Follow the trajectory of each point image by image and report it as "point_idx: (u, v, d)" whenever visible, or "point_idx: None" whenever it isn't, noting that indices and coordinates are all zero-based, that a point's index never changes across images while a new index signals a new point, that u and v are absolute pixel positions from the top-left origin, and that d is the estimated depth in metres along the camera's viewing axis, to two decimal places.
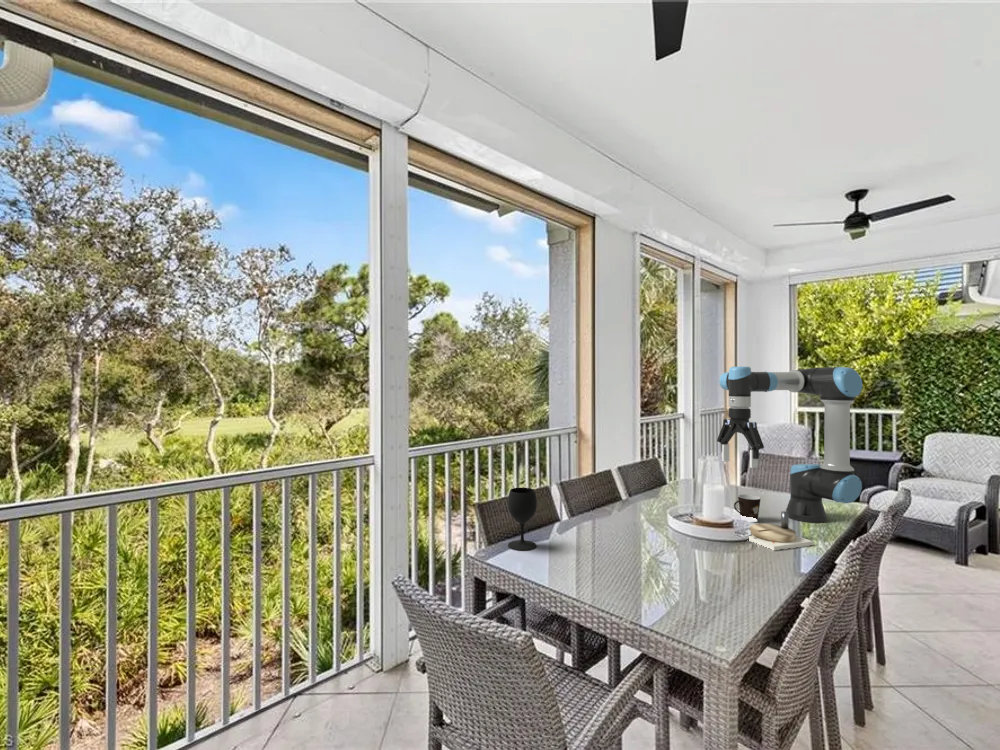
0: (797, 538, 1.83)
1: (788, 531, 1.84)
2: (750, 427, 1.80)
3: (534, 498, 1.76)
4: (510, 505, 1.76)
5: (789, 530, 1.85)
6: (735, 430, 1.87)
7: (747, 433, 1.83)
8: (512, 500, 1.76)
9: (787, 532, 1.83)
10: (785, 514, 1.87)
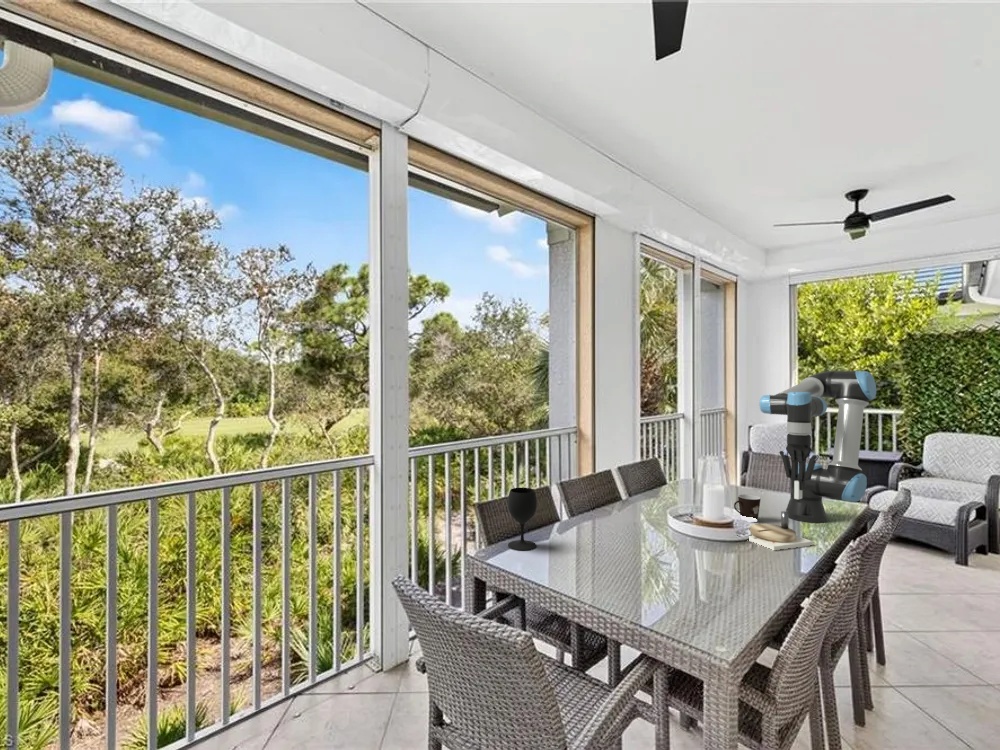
0: (797, 538, 1.83)
1: (788, 531, 1.84)
2: None
3: (534, 498, 1.76)
4: (510, 505, 1.76)
5: (789, 530, 1.85)
6: None
7: None
8: (512, 500, 1.76)
9: (787, 532, 1.83)
10: (785, 514, 1.87)
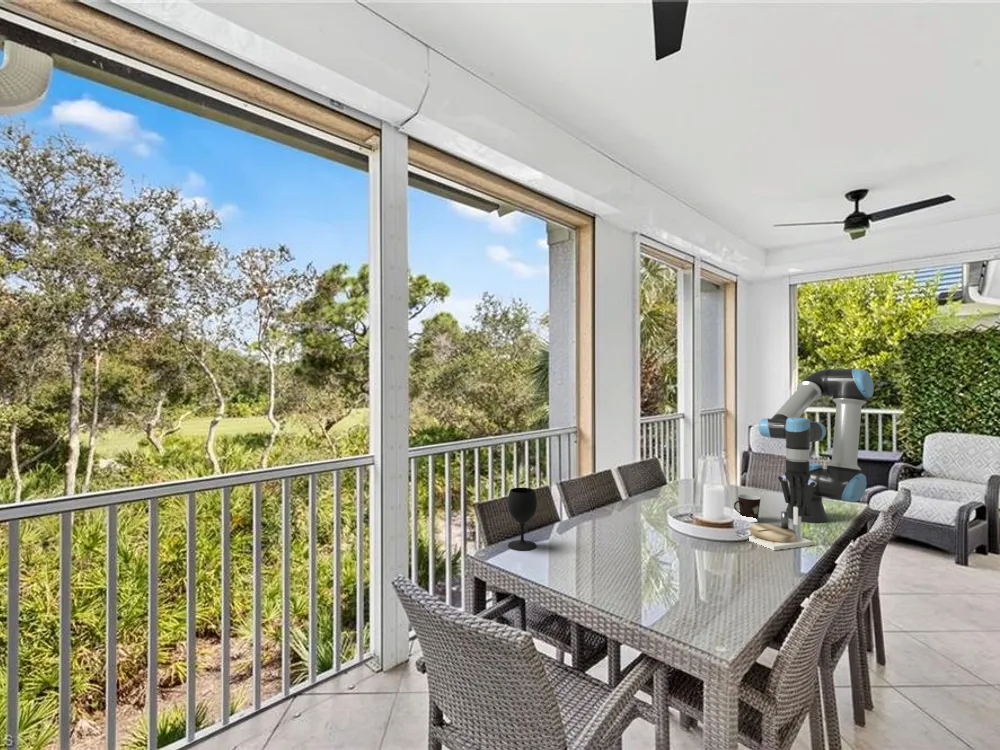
0: (797, 538, 1.83)
1: (788, 531, 1.84)
2: None
3: (534, 498, 1.76)
4: (510, 505, 1.76)
5: (789, 530, 1.85)
6: None
7: None
8: (512, 500, 1.76)
9: (787, 532, 1.83)
10: (785, 514, 1.87)
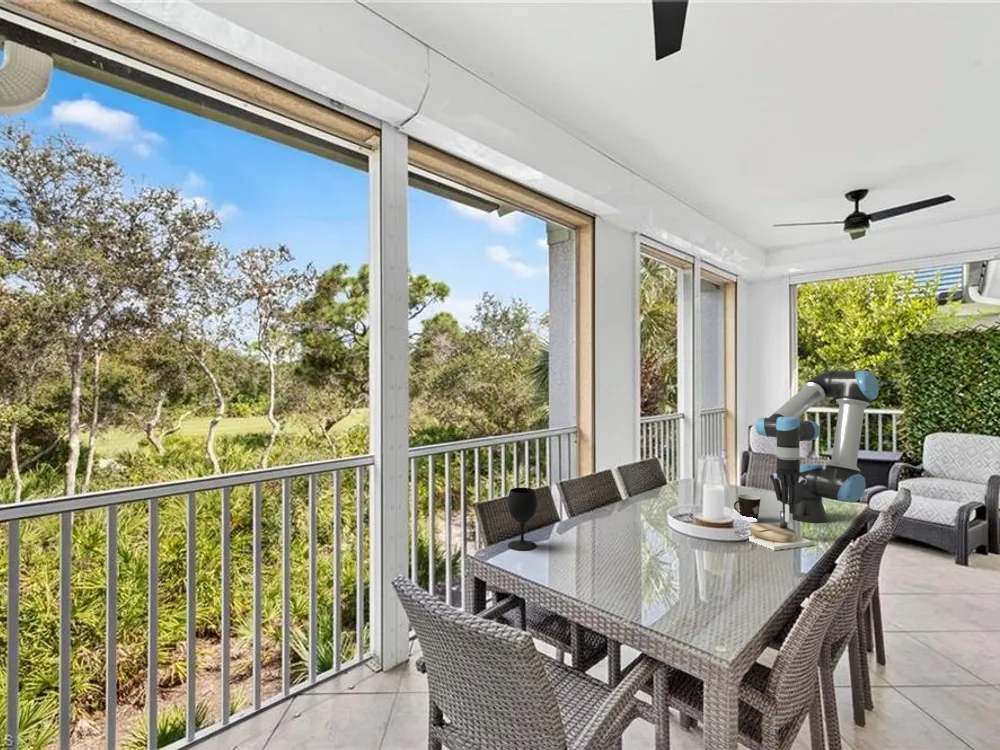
0: (797, 538, 1.83)
1: (788, 530, 1.85)
2: None
3: (534, 498, 1.76)
4: (510, 505, 1.76)
5: (789, 530, 1.85)
6: None
7: None
8: (512, 500, 1.76)
9: (788, 532, 1.83)
10: (784, 514, 1.87)
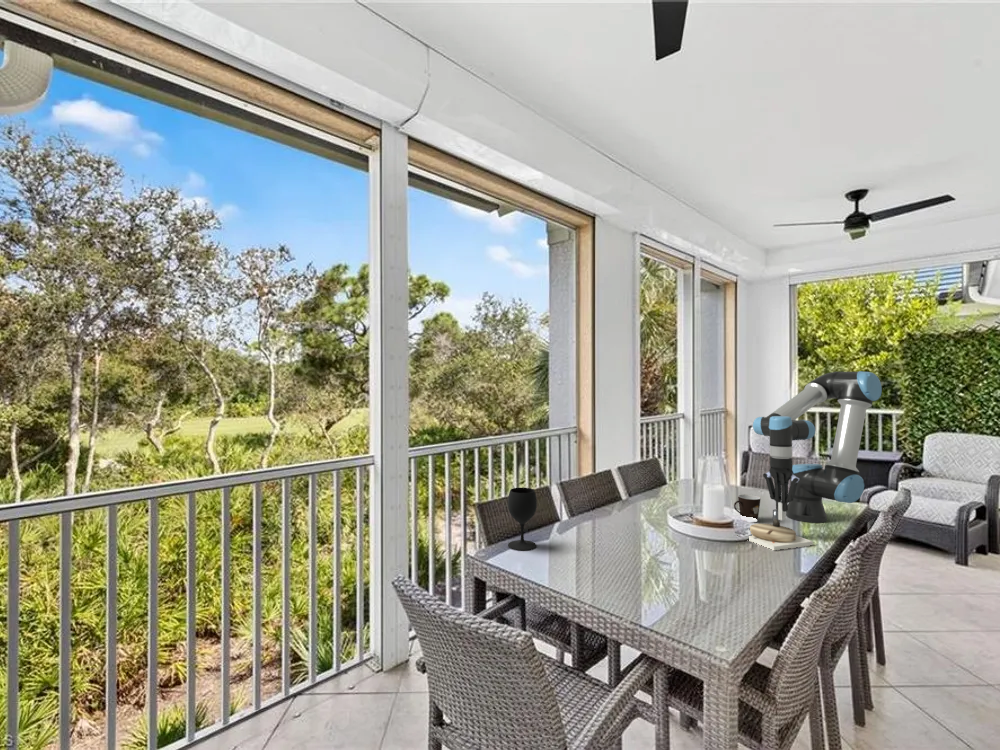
0: (797, 538, 1.83)
1: (785, 528, 1.87)
2: None
3: (534, 498, 1.76)
4: (510, 505, 1.76)
5: (784, 528, 1.88)
6: None
7: None
8: (512, 500, 1.76)
9: (787, 530, 1.85)
10: None
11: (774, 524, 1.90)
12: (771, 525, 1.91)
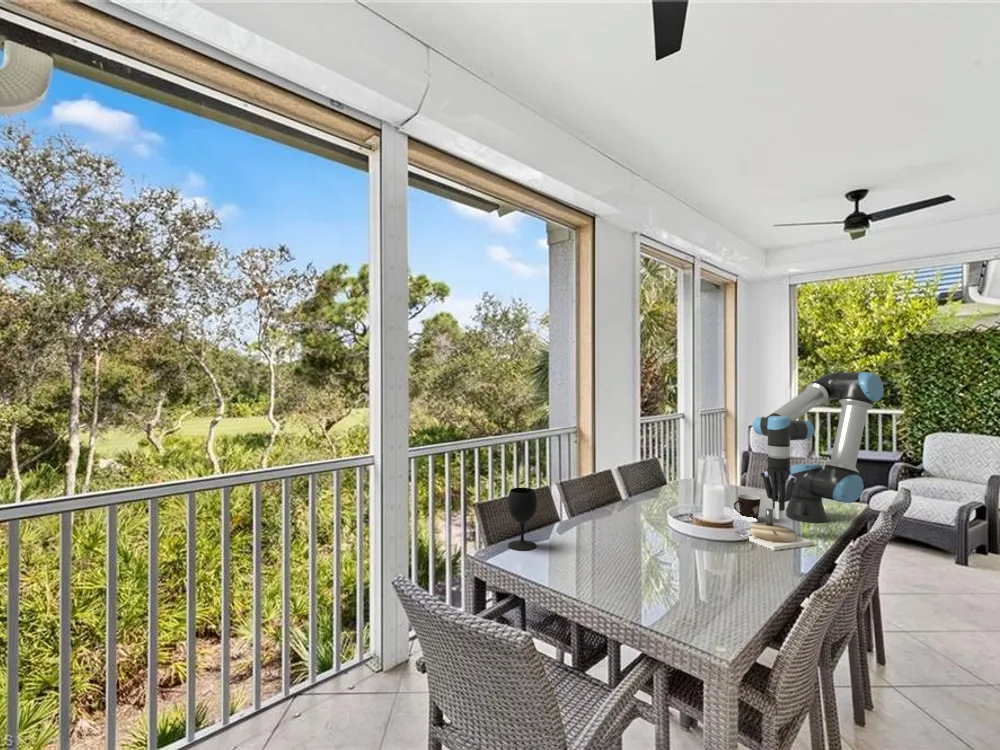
0: (797, 538, 1.83)
1: (779, 527, 1.89)
2: None
3: (534, 498, 1.76)
4: (510, 505, 1.76)
5: (778, 526, 1.90)
6: None
7: None
8: (512, 500, 1.76)
9: (784, 528, 1.87)
10: (772, 511, 1.91)
11: (768, 523, 1.91)
12: (765, 525, 1.92)
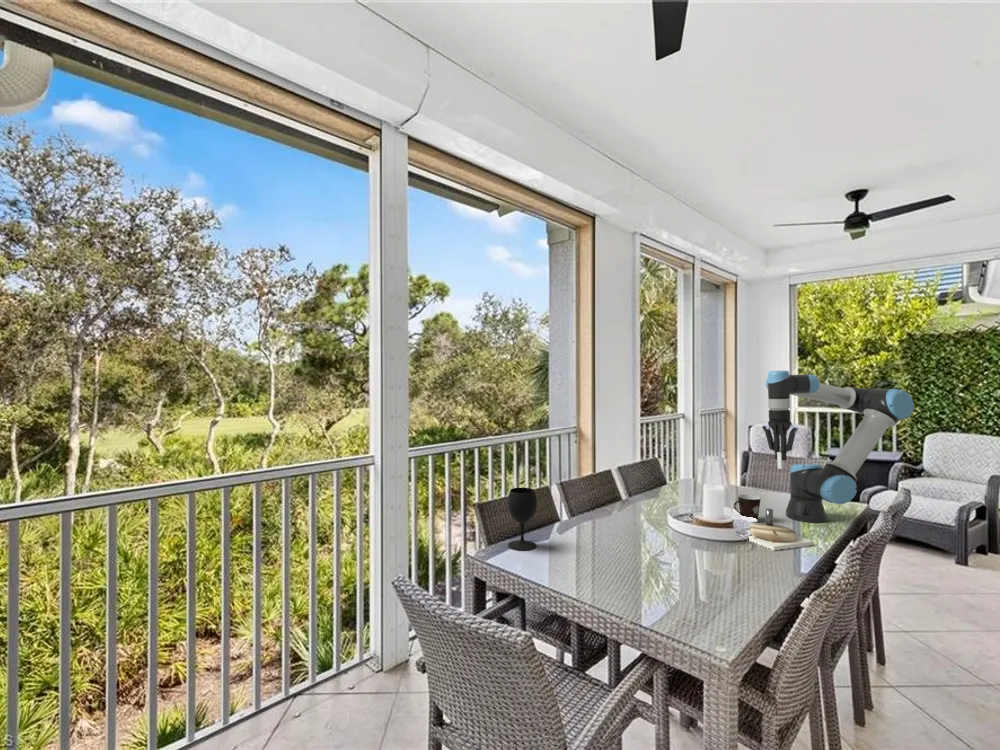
0: (797, 538, 1.83)
1: (779, 527, 1.89)
2: None
3: (534, 498, 1.76)
4: (510, 505, 1.76)
5: (778, 526, 1.90)
6: None
7: None
8: (512, 500, 1.76)
9: (784, 528, 1.87)
10: (772, 511, 1.91)
11: (768, 523, 1.91)
12: (765, 525, 1.92)
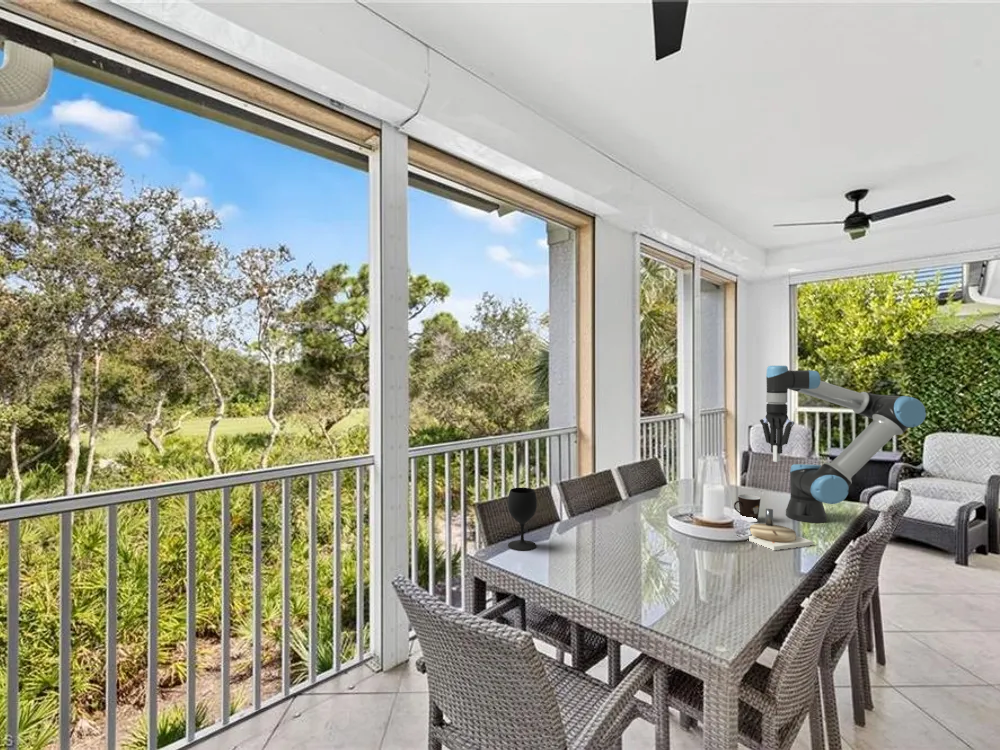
0: (797, 538, 1.83)
1: (779, 527, 1.89)
2: None
3: (534, 498, 1.76)
4: (510, 505, 1.76)
5: (778, 526, 1.90)
6: None
7: None
8: (512, 500, 1.76)
9: (784, 528, 1.87)
10: (772, 511, 1.91)
11: (768, 523, 1.91)
12: (765, 525, 1.92)
